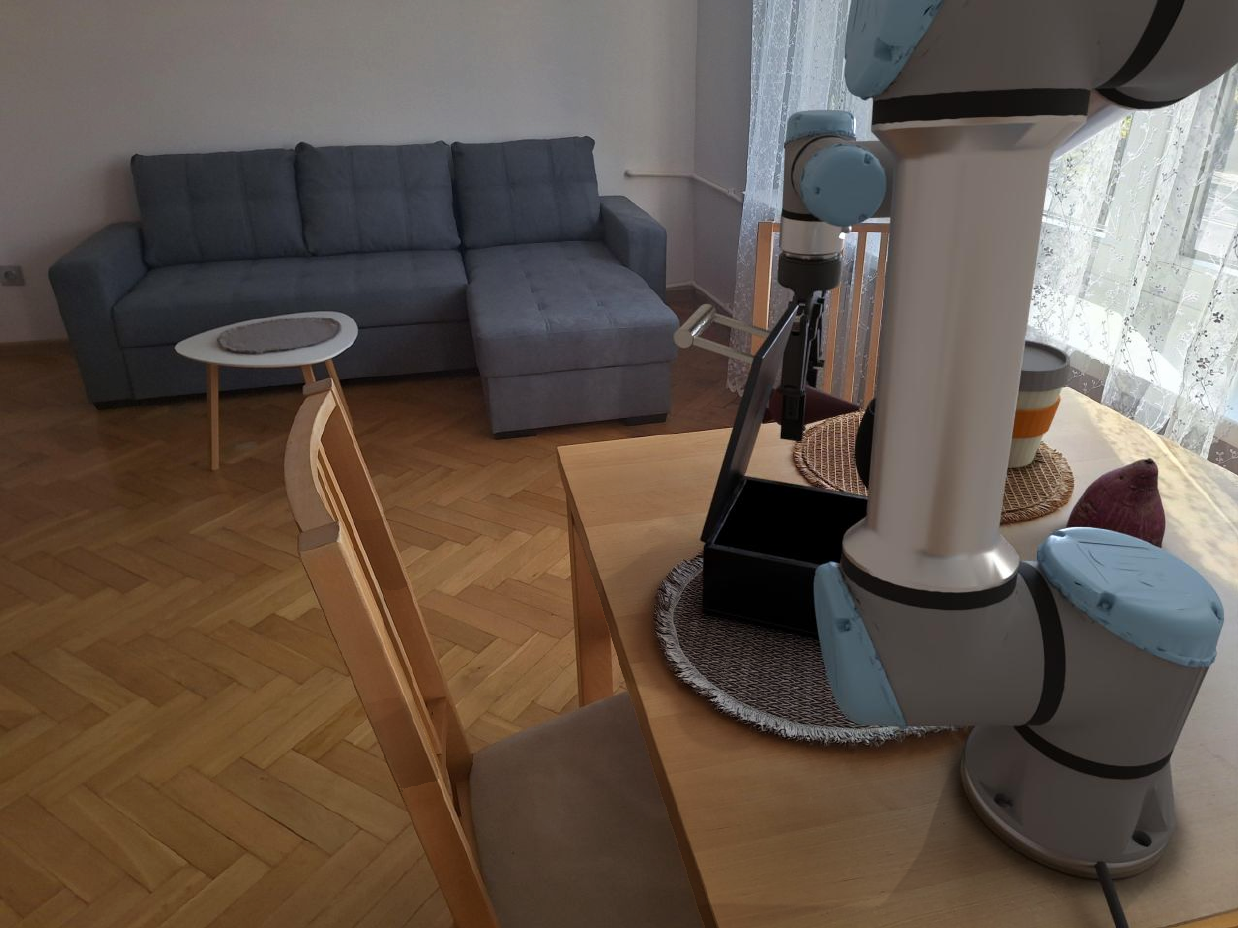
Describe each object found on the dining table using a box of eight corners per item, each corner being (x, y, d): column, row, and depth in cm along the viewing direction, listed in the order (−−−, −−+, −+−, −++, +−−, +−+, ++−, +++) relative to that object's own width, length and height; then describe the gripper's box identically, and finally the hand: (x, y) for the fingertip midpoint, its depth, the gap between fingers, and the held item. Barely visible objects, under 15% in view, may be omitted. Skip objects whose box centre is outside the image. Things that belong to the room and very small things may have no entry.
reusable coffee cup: (937, 436, 124) (954, 341, 116) (1018, 429, 125) (1039, 335, 117) (978, 477, 113) (999, 375, 105) (1066, 470, 114) (1093, 368, 106)
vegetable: (1158, 596, 94) (1232, 508, 84) (1063, 578, 96) (1124, 488, 85) (1137, 528, 102) (1203, 439, 91) (1049, 512, 103) (1104, 422, 93)
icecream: (865, 377, 107) (751, 373, 113) (857, 384, 101) (736, 379, 106) (862, 429, 109) (750, 423, 115) (854, 440, 102) (735, 432, 108)
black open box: (914, 570, 95) (926, 505, 91) (900, 658, 82) (912, 587, 78) (739, 537, 102) (742, 475, 98) (701, 613, 90) (703, 546, 85)
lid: (798, 304, 86) (714, 278, 88) (763, 358, 73) (665, 326, 75) (745, 472, 97) (672, 445, 100) (707, 543, 85) (624, 511, 87)
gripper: (828, 276, 89) (811, 464, 100) (855, 234, 105) (839, 399, 116) (759, 271, 91) (750, 455, 102) (796, 231, 108) (785, 393, 119)
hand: (797, 425), depth 109 cm, fingers closed on icecream, 7 cm apart
